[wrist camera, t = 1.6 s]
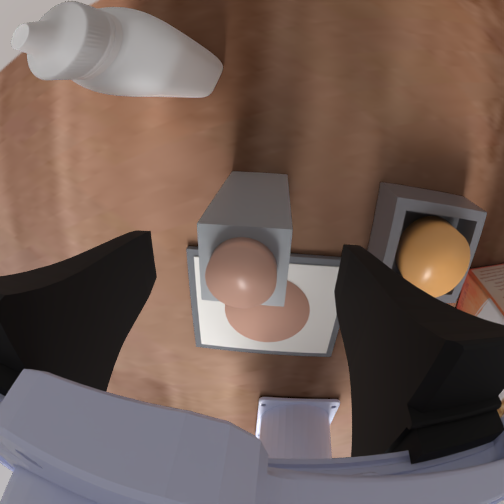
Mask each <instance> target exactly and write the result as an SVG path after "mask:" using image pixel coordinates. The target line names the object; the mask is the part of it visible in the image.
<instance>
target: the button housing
mask: <svg viewBox="0 0 504 504" xmlns="http://www.w3.org/2000/svg"><path fill="white" fill-rule="evenodd" d="M486 215H487V212H486V211H484V210H483V209H481V208H480V207H478V206H477V205H476V204H474V203H473V202H471V201H470V200H468V199H467V198H465V197H464V196H459V195H454V194H449V193H444V192H439V191H433V190H428V189H422V188H416V187H410V186H404V185H398V184H391V183H384V182H380V188H379V194H378V199H377V205H376V210H375V216H374V221H373V226H372V231H371V236H370V240H369V245H368V249H367V251H369V252H370V253H371V254H373V255H374V256H375V257H377V258H378V259H379V260H380V261H382V262H383V263H384V264H386V265H387V266H388V267H389V268H391V269H392V270H393V271H395V272H396V273H397V274H399V275H400V276H402V274H401V273H400V271H399V269H398V267H397V265H396V261H395V254H396V251H397V247H398V243H399V239H400V236H401V235H402V233H403V232H404V230H405V229H406V228H407V227H408V226H409V225H410V224H411V223H413V222H414V221H416V220H418V219H420V218H422V217H426V216H438V217H441V218H443V219H445V220H446V221H447V222H448V223H450V224H451V225H452V226H453V227H454V228H455V229H456V230H457V231H459V232H460V233H461V234H462V235H463V236H464V237H465V238H466V240H467V242H468V244H469V247H470V262H469V266H468V269H467V271H466V273H465V275H464V277H463V278H462V280H461V281H460V282H459V283H458V285H457V286H456V287H454V288H453V289H452V290H451V291H449V292H448V293H446V294H444V295H442V296H439V297H436V298H437V299H438V300H440V301H442V302H444V303H456V300H457V298H458V296H459V293H460V291H461V289H462V286H463V284H464V281H465V279H466V276H467V273H468V271H469V268H470V265H471V263H472V260H473V257H474V254H475V251H476V248H477V245H478V242H479V239H480V236H481V233H482V229H483V226H484V222H485V219H486ZM402 277H403V276H402Z"/></svg>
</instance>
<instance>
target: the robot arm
mask: <svg viewBox="0 0 504 504" xmlns="http://www.w3.org/2000/svg"><path fill="white" fill-rule="evenodd" d="M156 277H157V276H156V269H155V262H154V255H153V248H152V240H151V231H133V232H129V233H127V234H124V235H122V236H119V237H117V238H115V239H112V240H110V241H108V242H106V243H103V244H101V245H99V246H97V247H95V248H92V249H90V250H88V251H85V252H83V253H81V254H79V255H76V256H74V257H71V258H69V259H66V260H64V261H61V262H58V263H55V264H52V265H49V266H45V267H42V268H38V269H34V270H31V271H27V272H23V273H18V274H13V275H7V276H0V463H1V464H3V465H4V466H6V467H7V468H8V469H10V470H11V471H12V472H13V473H12V476H11V478H10V480H9V482H8V485H7V487H6V489H5V492H4V494H3V496H2V499H1V501H0V504H497V503H499V502H501V501H503V500H504V415H503V416H502V417H501V418H500V416H499V414H498V411H497V409H499V408H500V407H501V406H502V402H501V400H500V398H499V394H500V393H501V392H502V391H503V389H504V325H502V324H499V323H495V322H492V321H488V320H485V319H482V318H479V317H477V316H474V315H471V314H469V313H466V312H464V311H461V310H459V309H457V308H455V307H453V306H451V305H448V304H446V303H444V302H442V301H440V300H438V299H437V298H435V297H433V296H431V295H429V294H428V293H426V292H424V291H423V290H421V289H419V288H418V287H416V286H415V285H413V284H412V283H410V282H409V281H407V280H406V279H404V278H403V277H402V276H400V275H399V274H397V273H396V272H395V271H393V270H392V269H391V268H389V267H388V266H387V265H386V264H384V263H383V262H382V261H380V260H379V259H378V258H377V257H375V256H374V255H373V254H371V253H370V252H369V251H367V250H366V249H364V248H363V247H361V246H358V245H345V244H344V245H343V250H342V256H341V261H340V266H339V271H338V275H337V280H336V285H335V290H334V294H335V305H336V313H337V317H338V322H339V326H340V330H341V334H342V338H343V342H344V347H345V351H346V355H347V360H348V366H349V372H350V384H351V399H352V452H351V457H346V458H332V452H331V437H330V424H331V422H332V420H333V418H334V415H335V413H336V411H337V409H338V407H339V405H340V400H338V399H297V398H276V397H261V398H260V399H259V406H258V416H257V426H256V435H253V434H251V433H249V432H247V431H245V430H244V429H242V428H240V427H238V426H236V425H234V424H232V423H231V422H229V421H226V420H222V419H218V418H214V417H210V416H206V415H203V414H199V413H196V412H192V411H188V410H182V409H177V408H172V407H167V406H162V405H157V404H152V403H148V402H143V401H139V400H135V399H131V398H127V397H123V396H120V395H116V394H112V393H109V392H106V390H107V387H108V383H109V380H110V377H111V374H112V371H113V368H114V365H115V362H116V360H117V357H118V355H119V352H120V349H121V347H122V345H123V343H124V341H125V339H126V337H127V335H128V333H129V331H130V330H131V328H132V326H133V324H134V322H135V321H136V319H137V317H138V315H139V314H140V312H141V310H142V308H143V307H144V305H145V303H146V301H147V299H148V298H149V295H150V293H151V290H152V288H153V285H154V283H155V280H156Z"/></svg>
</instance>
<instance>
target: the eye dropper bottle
mask: <svg viewBox="0 0 504 504" xmlns="http://www.w3.org/2000/svg"><path fill="white" fill-rule="evenodd" d="M11 44H12V48H13V49H15V50H18V51H21V52H25V53H27V60H28V64H29V67H30V69H31V72H32V73H33V74H34V75H35V76H37V78H39V79H42V80H72V81H74V82H75V83H77V84H79V85H80V86H82V87H85V88H87V89H90V90H92V91H95V92H99V93H103V94H109V95H116V96H130V97H185V98H201V97H206V96H209V95H210V94H211V93H212V91H213V90H214V88H215V86H216V84H217V82H218V80H219V78H220V75H221V73H222V70H223V65H222V63H221V61H220V60H219V59H218V58H217V57H216V56H215V55H214V54H212V53H211V52H210V51H209V50H207V49H206V48H204V47H203V46H201V45H200V44H199V43H197V42H196V41H194V40H193V39H191V38H190V37H188V36H187V35H185V34H184V33H182V32H180V31H179V30H177V29H176V28H174V27H173V26H171V25H169V24H168V23H166V22H164V21H162V20H160V19H159V18H157V17H155V16H152V15H150V14H148V13H145V12H142V11H139V10H135V9H130V8H123V7H106V8H100V9H97V8H94V7H91V6H89V5H86V4H83V3H79V2H76V1H67V2H64V3H61V4H58V5H56V6H54V7H53V8H51V9H50V10H49V11H48V12H47V13H46V14H45V15H44V16H43V17H42V18H41V19H40V20H39V21H38V22H29V23H23V24H21V25H19V26H18V27H17V29H16V30H15V32H14V34H13V36H12V40H11Z"/></svg>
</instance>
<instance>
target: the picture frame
mask: <svg viewBox="0 0 504 504" xmlns="http://www.w3.org/2000/svg"><path fill="white" fill-rule="evenodd" d="M186 250H187V262H188V274H189V285H190V296H191V306H192V315H193V324H194V332H195V341H196V347H203V348H212V349H220V350H229V351H239V352H250V353H263V354H277V355H294V356H318V357H331V354H332V351H333V348H334V344H335V341H336V338H337V334H338V331H339V327H340V326H339V322H338V317H337V313H336V305H335V294H334V290H335V285H336V280H337V275H338V271H339V266H340V261H341V257H334V256H320V255H306V254H292V253H290V260H289V269H288V278H287V286H286V295H285V303H284V307H281V306H267V305H259V306H256V307H253V308H235V307H231V306H228V305H226V304H224V303H222V302H220V301H209V300H202V298H201V285H200V270H199V253H198V247H194V246H188V247H187V249H186Z"/></svg>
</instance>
